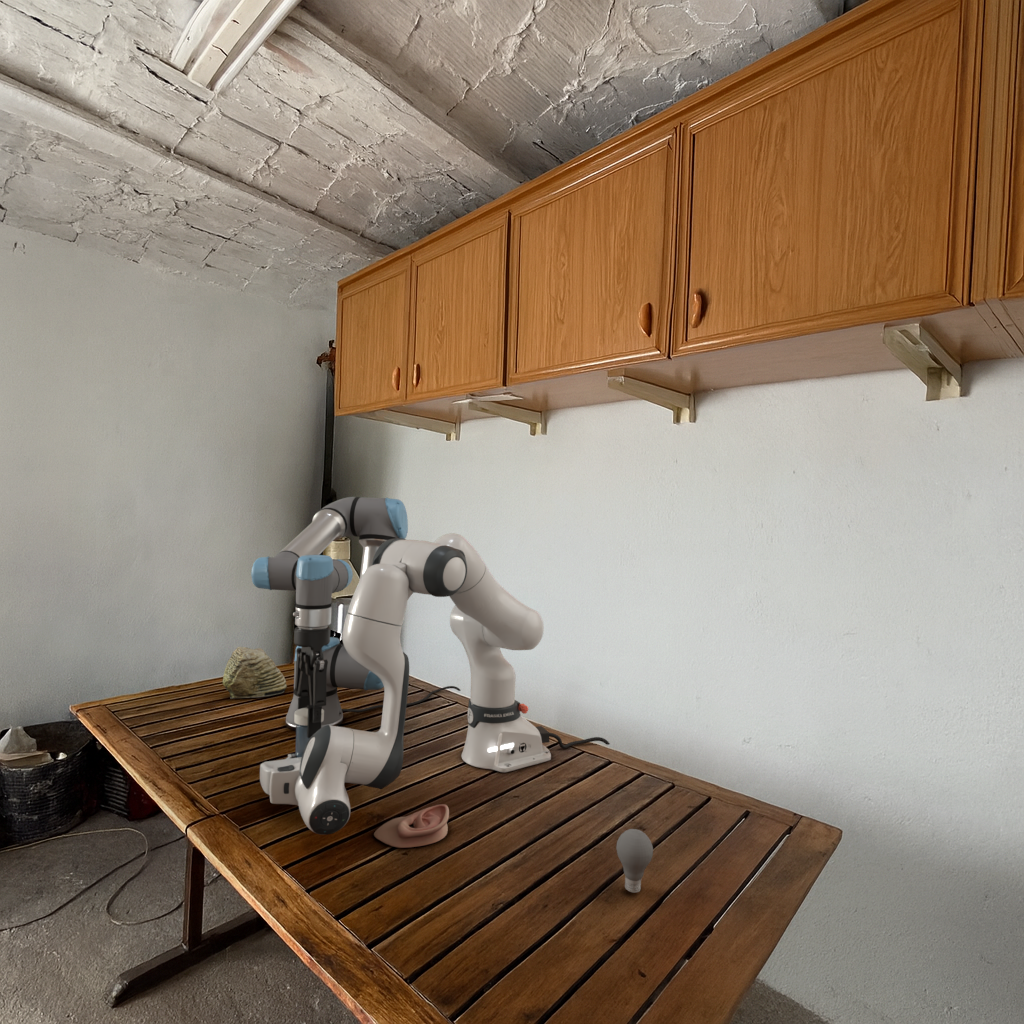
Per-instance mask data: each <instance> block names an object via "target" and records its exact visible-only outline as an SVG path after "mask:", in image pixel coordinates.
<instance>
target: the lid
mask: <svg viewBox="0 0 1024 1024" xmlns="http://www.w3.org/2000/svg"><path fill="white" fill-rule="evenodd" d="M323 720H324V710H323V709H322V713H321V722H323ZM294 722H295V723H296V724H298V725H307V723H308V709H307V708H301V709H298V710H296V711H295V715H294Z"/></svg>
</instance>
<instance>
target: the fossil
mask: <svg viewBox="0 0 1024 1024" xmlns="http://www.w3.org/2000/svg"><path fill="white" fill-rule="evenodd" d="M222 676H223V677H222V685H223V687H224V688H225V690H226V691H228V693H229V698H230V699H250V698H264V697H271V696H275V695H281V694H284V693H285V691H286V689H287V687H288V686H287V680H286V678H285V676H284V674H283V673H282V672H281V669H279V668H278V667H277V665H276V663H275V662H274V660H273V659H272V658H271V657H270V656H269V655H268V654H267V653H266V652H265V650H264V649H263V648H260V647H258V648H251V647H247V646H246V647H245V646H238V647H237V648H236V649H235V650H233V651H232V653H231V656H230V657H229V659H228V660H227V663H226V666H225V668H224V671H223V675H222Z"/></svg>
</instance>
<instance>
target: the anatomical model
mask: <svg viewBox="0 0 1024 1024" xmlns="http://www.w3.org/2000/svg"><path fill="white" fill-rule="evenodd" d="M449 817H450V809H449V807H448V805H447V804H443V803H442V804H435V805H432V806H429V807H426V808H423V809H421V810H418V811H416V812H413V813H411V814H409V815H407V816H400V817H395V818H392V819H390V820H388V821H386V822H384V823H383V824H382V825H380V826H379V827H378V828H377V829H376V830H375V832H374V833H373V836H374V837H375V839H377V840H378V841H380V842H382V843H384V844H385V845H388V846H391V847H394V848H398V849H399V848H400V849H403V848H414V847H415V848H416V847H423V846H428V845H431V844H434V843H437V842H439V841H441V840H443V839H444V838H446V836H447V835H448V832H449V831H448V829H449V826H448V824H447V823H448V821H449Z"/></svg>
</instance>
